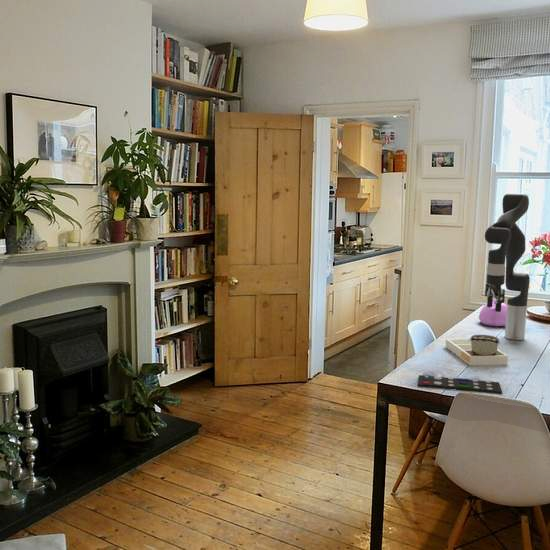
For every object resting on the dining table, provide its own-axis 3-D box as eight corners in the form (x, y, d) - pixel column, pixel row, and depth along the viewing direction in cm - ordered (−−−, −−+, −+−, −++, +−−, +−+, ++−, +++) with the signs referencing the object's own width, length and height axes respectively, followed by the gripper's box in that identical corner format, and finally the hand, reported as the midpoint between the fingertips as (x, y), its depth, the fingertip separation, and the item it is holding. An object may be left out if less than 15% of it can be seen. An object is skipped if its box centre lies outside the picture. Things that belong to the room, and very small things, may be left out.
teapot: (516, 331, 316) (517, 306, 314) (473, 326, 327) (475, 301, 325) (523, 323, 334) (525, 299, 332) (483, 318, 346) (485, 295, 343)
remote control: (418, 378, 241) (419, 373, 240) (498, 385, 233) (499, 380, 233) (418, 387, 230) (418, 382, 230) (501, 395, 223) (502, 390, 222)
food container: (499, 358, 264) (500, 336, 263) (498, 362, 259) (500, 339, 257) (469, 354, 269) (471, 333, 267) (468, 358, 263) (469, 336, 262)
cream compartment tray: (445, 347, 285) (445, 338, 284) (479, 346, 286) (479, 338, 286) (469, 365, 257) (469, 356, 256) (507, 364, 258) (508, 355, 257)
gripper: (511, 276, 255) (509, 313, 258) (496, 270, 269) (494, 305, 272) (494, 276, 254) (492, 313, 257) (480, 270, 268) (478, 305, 271)
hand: (493, 309), depth 265 cm, fingers open, 8 cm apart
